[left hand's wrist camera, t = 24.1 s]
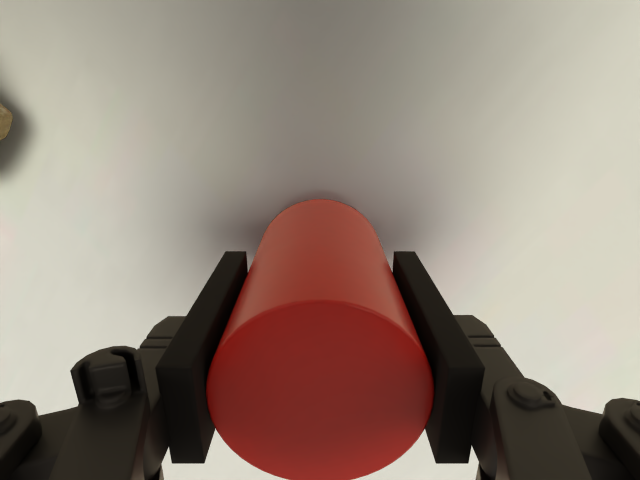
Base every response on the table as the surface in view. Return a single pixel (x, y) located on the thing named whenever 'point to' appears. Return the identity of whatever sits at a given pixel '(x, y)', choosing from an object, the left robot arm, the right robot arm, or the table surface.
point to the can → (320, 353)
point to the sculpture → (5, 121)
